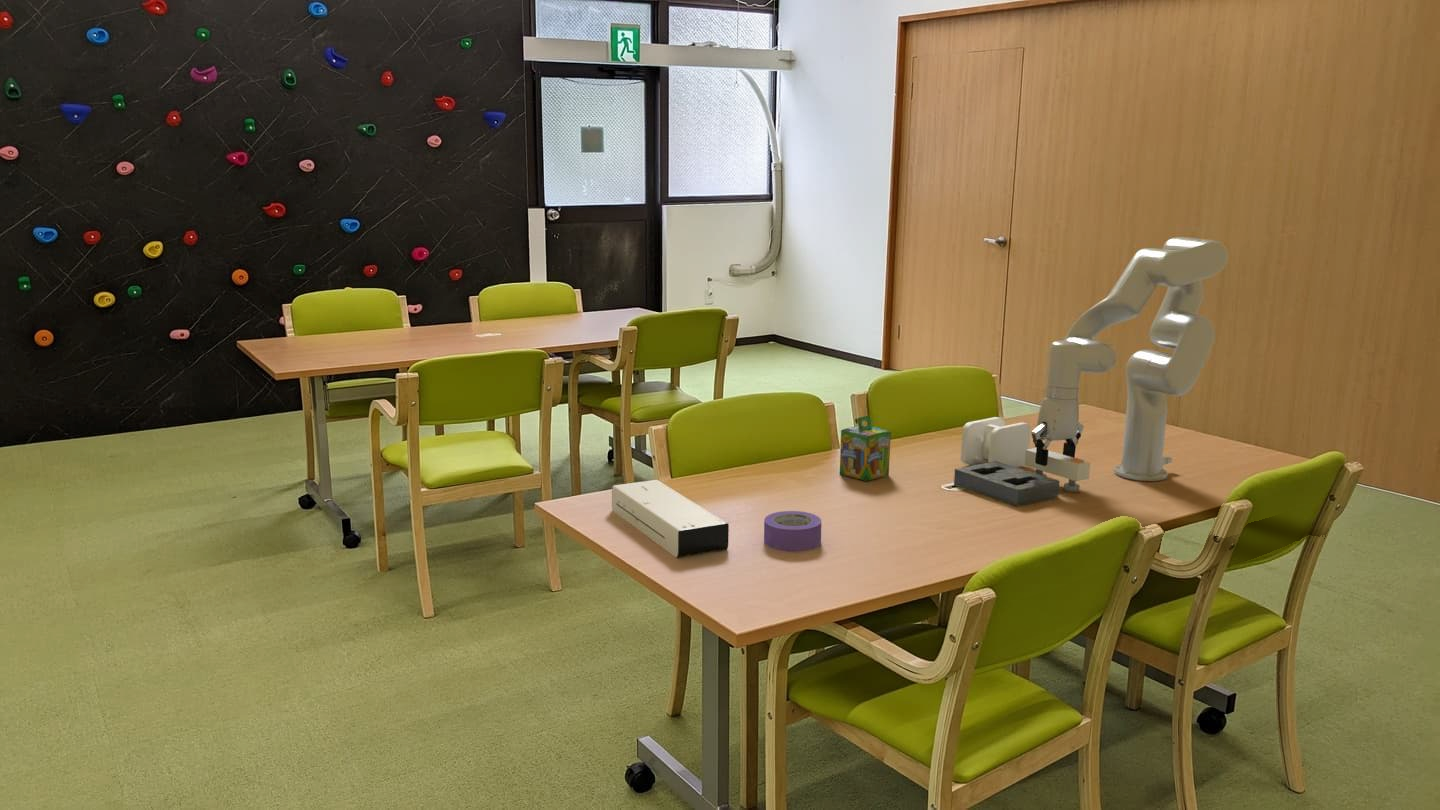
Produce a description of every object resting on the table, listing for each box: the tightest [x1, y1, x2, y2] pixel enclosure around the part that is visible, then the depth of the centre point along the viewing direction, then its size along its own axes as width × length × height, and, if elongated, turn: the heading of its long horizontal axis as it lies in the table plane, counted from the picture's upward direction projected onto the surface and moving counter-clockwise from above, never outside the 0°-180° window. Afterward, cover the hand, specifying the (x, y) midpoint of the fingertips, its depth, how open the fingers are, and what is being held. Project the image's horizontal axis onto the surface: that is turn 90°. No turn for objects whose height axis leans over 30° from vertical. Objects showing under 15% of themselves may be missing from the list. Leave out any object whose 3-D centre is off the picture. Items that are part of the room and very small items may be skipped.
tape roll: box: [763, 510, 822, 553], centre depth 236 cm, size 12×12×5 cm
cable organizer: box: [960, 416, 1032, 468], centre depth 293 cm, size 15×11×12 cm
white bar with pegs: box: [1023, 447, 1091, 494], centre depth 278 cm, size 4×16×8 cm, turn 34°
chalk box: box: [839, 414, 892, 482], centre depth 284 cm, size 9×9×15 cm
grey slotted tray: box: [953, 461, 1061, 508], centre depth 273 cm, size 14×20×4 cm
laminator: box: [611, 479, 730, 559], centre depth 243 cm, size 34×12×6 cm, turn 28°
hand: (1054, 462), depth 277 cm, fingers open, 9 cm apart
